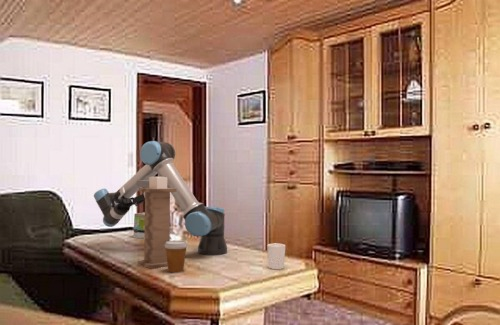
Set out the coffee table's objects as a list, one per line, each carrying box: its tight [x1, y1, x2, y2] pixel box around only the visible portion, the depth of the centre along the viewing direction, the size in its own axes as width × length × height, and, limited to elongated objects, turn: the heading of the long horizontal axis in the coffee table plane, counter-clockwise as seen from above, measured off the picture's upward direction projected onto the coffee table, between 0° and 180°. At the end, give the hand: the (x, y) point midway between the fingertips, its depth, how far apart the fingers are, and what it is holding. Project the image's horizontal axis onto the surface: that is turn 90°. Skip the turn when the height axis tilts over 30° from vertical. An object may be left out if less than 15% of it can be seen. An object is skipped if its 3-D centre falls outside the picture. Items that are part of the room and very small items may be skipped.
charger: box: [137, 176, 167, 189], centre depth 207 cm, size 20×5×5 cm, turn 41°
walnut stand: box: [137, 187, 176, 270], centre depth 203 cm, size 12×12×34 cm
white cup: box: [267, 242, 286, 270], centre depth 200 cm, size 8×8×10 cm
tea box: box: [133, 211, 145, 240], centre depth 280 cm, size 15×10×15 cm, turn 159°
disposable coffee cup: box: [165, 240, 188, 273], centre depth 192 cm, size 10×10×12 cm
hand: (137, 189), depth 217 cm, fingers open, 13 cm apart
